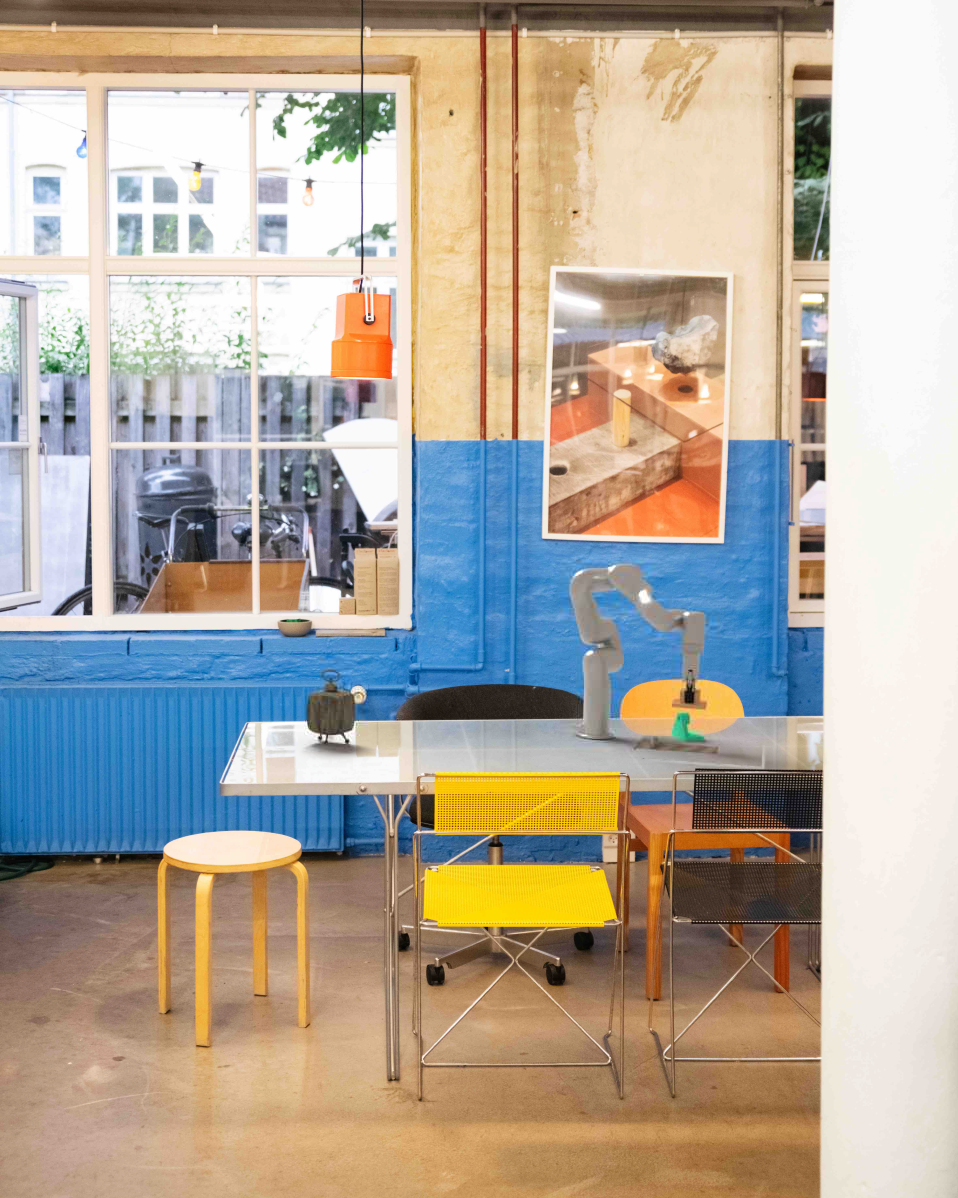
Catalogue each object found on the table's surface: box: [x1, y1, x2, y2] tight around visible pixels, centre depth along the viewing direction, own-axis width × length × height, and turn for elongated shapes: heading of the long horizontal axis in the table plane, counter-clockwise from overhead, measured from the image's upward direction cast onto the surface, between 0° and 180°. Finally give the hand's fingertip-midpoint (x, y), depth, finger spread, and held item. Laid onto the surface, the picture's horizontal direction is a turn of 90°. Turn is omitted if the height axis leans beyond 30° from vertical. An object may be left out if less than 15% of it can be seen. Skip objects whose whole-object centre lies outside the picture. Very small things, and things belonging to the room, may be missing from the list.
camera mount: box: [671, 711, 705, 742], centre depth 405 cm, size 12×8×10 cm, turn 13°
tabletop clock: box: [306, 668, 356, 745], centre depth 383 cm, size 14×9×25 cm, turn 65°
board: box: [633, 736, 719, 755], centre depth 387 cm, size 27×12×4 cm, turn 76°
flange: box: [671, 687, 708, 711], centre depth 385 cm, size 11×11×5 cm
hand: (689, 700), depth 385 cm, fingers closed on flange, 6 cm apart
